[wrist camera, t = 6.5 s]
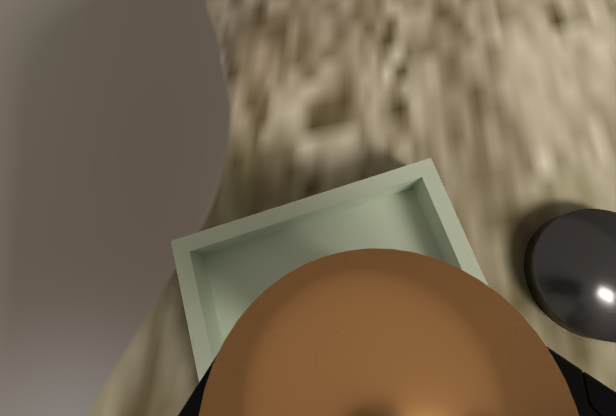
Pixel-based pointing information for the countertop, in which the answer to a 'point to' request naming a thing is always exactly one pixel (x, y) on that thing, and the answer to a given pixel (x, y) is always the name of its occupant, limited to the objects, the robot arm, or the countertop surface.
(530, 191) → the countertop surface
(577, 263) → the stud
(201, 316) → the bin
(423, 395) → the grey and gold cylinder
